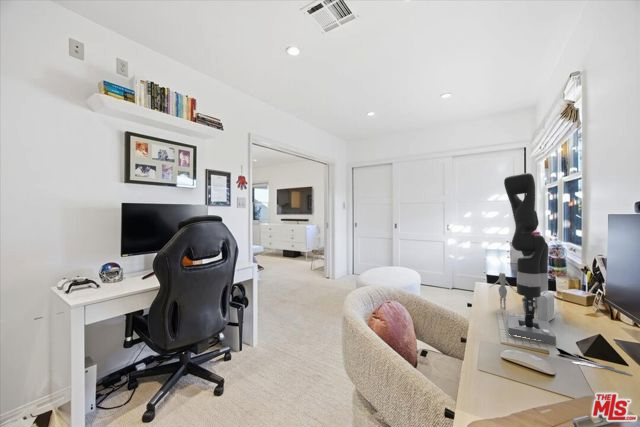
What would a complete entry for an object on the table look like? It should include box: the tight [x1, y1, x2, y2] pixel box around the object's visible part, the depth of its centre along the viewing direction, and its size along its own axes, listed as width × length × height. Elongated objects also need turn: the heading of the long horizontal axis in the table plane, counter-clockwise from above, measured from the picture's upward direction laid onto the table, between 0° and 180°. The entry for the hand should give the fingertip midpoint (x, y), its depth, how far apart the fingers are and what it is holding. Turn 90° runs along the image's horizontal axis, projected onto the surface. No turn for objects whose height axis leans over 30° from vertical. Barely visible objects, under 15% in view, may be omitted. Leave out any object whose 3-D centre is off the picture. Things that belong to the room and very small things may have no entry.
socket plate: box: [506, 314, 557, 346], centre depth 106 cm, size 16×14×4 cm
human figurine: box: [488, 272, 518, 310], centre depth 132 cm, size 12×4×18 cm, turn 43°
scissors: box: [555, 347, 634, 377], centre depth 85 cm, size 8×21×2 cm, turn 42°
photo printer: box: [536, 290, 556, 322], centre depth 119 cm, size 10×4×12 cm, turn 123°
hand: (528, 325), depth 106 cm, fingers closed on chess piece, 2 cm apart
